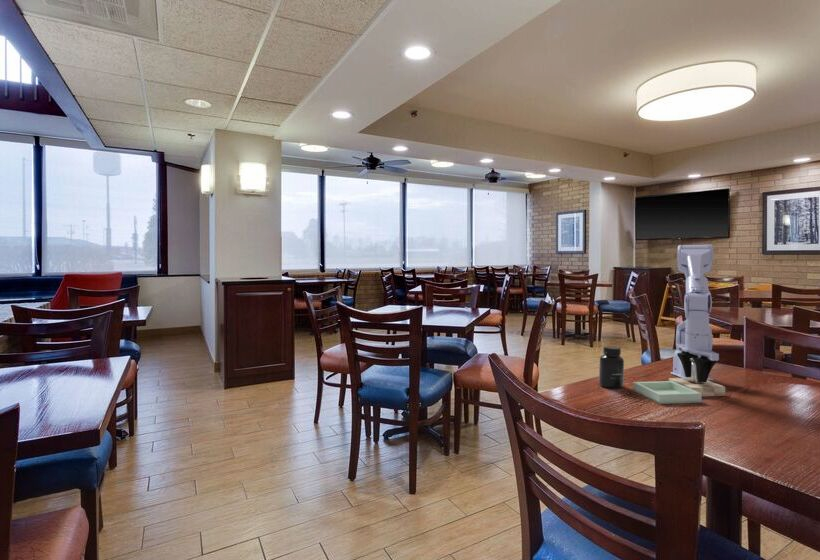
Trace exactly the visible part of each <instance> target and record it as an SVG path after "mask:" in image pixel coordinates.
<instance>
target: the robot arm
mask: <svg viewBox="0 0 820 560" xmlns="http://www.w3.org/2000/svg"><path fill="white" fill-rule="evenodd" d="M676 255H677V268H678V271H679V272H681V273H682V274H684V277H685V294H684V299H683V301H684V303H683V306H684V307H683V308H684V313H685V314H684V317H685V320H684V321H682V322H680V323H679V324H678V325H677V326H676V332H675V333H676V334H675V347H676V350H675V352H673V358H672V360H673V361H672V371H670V374H671V375H673V376H676V377H677V378H691V361H690V358H692V357H694V361H695V364H696V367H697V377H698V382H707V380H708V381H711V382H712V381H714V379H713V378H711V377H709V376H710V374H711V371H712V369H713V367H714V366H715V365H716V364H717V362H718V361H719V360H720V354H719V353H718V352H715V351H713V330H712V327H711V326H710V313H711V311H712V307H713V306H712V304H713V303H712V302H713V301H712V294H711V291H710V290H709V279H708V277H706V276H705V275H704V274H706V273H708V272H710V271H711V268H712V265H713V261H714V246H713V245H712V243H708V244H683V245H682V244H679V245H678V246H677V253H676Z"/></svg>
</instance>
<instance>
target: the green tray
mask: <svg viewBox="0 0 820 560" xmlns="http://www.w3.org/2000/svg"><path fill="white" fill-rule="evenodd" d="M632 391H633V392H635V393H637V394H639V395H641V396H643V397H645V398H647V399H649V400H650V401H653V402H655V403H657V404H658V405H661V404H662V405H663V404H664V405H666V404H667V405H668V404H693V403H694V404H696V403H699V404H700V403H702V401H703V399H702V397H703V396H702V393H699V392H697V391H695V390H692V389H690V388H687V387H685V386H682V385H680V384H678V383H675V382H673V381H668V380H665V381H663V380H662V381H633V382H632Z"/></svg>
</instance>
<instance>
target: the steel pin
mask: <svg viewBox="0 0 820 560" xmlns="http://www.w3.org/2000/svg"><path fill="white" fill-rule="evenodd" d="M690 361H691V383H693V384H701V382H698V377H697V367H696V364H695V361H694V357H692V358H690Z"/></svg>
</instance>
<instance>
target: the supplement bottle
mask: <svg viewBox="0 0 820 560" xmlns="http://www.w3.org/2000/svg"><path fill="white" fill-rule="evenodd" d="M602 352H603V354H602V355H601V356H599V367H598V368H599V372H598V376H599V377H598V383H599V386H601V387H603V386H604V387H603V388H606V387H608V388H607V389H611V388H620V389H622V388H623V387H624V378H625V377H624V373H625V371H624V370H625V360H624V358H623V357H622V356H621V354H622V353H621V352H622V350H621V347H619V346H612V345H611V346H608V345H607V346H606V345H605V346H603V351H602Z"/></svg>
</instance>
